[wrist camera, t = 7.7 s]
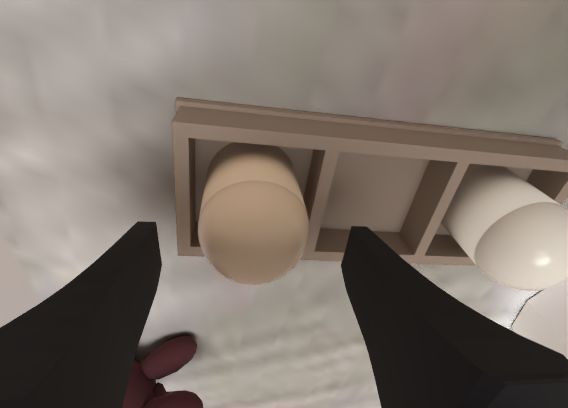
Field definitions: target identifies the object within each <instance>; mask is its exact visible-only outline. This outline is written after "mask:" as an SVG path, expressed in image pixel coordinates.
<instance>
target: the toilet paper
mask: <svg viewBox="0 0 568 408" xmlns="http://www.w3.org/2000/svg"><path fill="white" fill-rule="evenodd" d="M512 329H513V331H514V332H515V333H517V334H519V335H521V336H523V337H525V338H527V339H530V340H532V341H534V342H536V343H539V344H541V345H543V346H545V347H548V348H550V349H552V350H554V351H556V352H559V353H561V354H563V355H564V356H565V357H566V358H567V359H568V280H566V281H565V282H563V283H561V284H559V285H557V286H555V287H552V288H548V289H544V290H543V291H541V292H540V293H538V294H537V295H535V296H534V297H532V298H531V299H529V300H528V301H527V302H526V304H525V305H524V307H523V309H522V310H521V312H520V314H519V315H518V317H517V318H516V320H515V322H514V323H513V325H512Z"/></svg>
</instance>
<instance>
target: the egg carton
mask: <svg viewBox="0 0 568 408" xmlns="http://www.w3.org/2000/svg"><path fill="white" fill-rule="evenodd" d="M175 107H176V115H175V117H174V119H173V120H172V136H173V158H174V180H175V202H176V224H177V246H178V256H204V254H203V252H202V249H201V246H200V243H199V237H198V221H199V215H200V210H201V204H202V199H203V193H204V188H205V182H206V177H207V172H208V167H209V165H210V162H211V160H212V159H213V157H214V156H215V155H216V153H217V152H218V151H219V150H221V149H222V148H223V147H224V146H226V145H228V144H230V143H232V142H239V143H250V144H261V145H272V146H278V147H279V148H281V149H282V150H283V151H284V152H285V153H286V154H287V156H288V157H289V158H290V160H291V162H292V164H293V167H294V170H295V174H296V177H297V180H298V184H299V187H300V190H301V194H302V197H303V201H304V204H305V207H306V211H307V215H308V219H309V238H308V242H307V246H306V249H305V251H304V253H303V255H302V257H301V259H300V260H324V261H342V260H343V256H344V252H345V249H346V245H347V241H348V237H349V234H350V230H351V226H367V227H368V228H369V229H370V230H372V231H373V232H374V233H375V234H376V235H377V236H378V237H379V238H380V239H381V240H383V241H384V242H385V243H386V244H387V245H388V246H389V247H390V248H391V249H392V250H394V251H395V252H396V253H397V254H398V255H399V256H400V257H401V258H403V259H404V260H405V261H406V262H407V263H414V264H444V265H474V266H476V264H475V263H474V262H473V261H472V260H471V258H470V257H469V256H468V255H467V254H466V253H465V251H464V250H463V249H462V248H461V247H460V245H459V244H458V243H457V242H456V241H455V239H454V238H453V237H452V236H451V235H450V234H449V232H448V231H447V230H446V229H445V228H444V226H443V225H442V224H441V221H442V219H443V217H444V215H445V213H446V211H447V209H448V207H449V204H450V202H451V200H452V198H453V196H454V194H455V192H456V190H457V188H458V186H459V184H460V182H461V180H462V178H463V176H464V174H465V172H466V170H467V168H468V166H469V164H482V165H493V166H504V167H506V168H507V169H509V170H510V171H512V172H513V173H515V174H516V175H518V176H519V177H521V178H522V179H524V180H525V181H526V182H528V183H529V184H531V185H532V186H534V187H535V188H537V189H538V190H540V191H541V192H543V193H544V194H546V195H547V196H548V197H550V198H551V199H553V200H554V201H556V202H557V203H559V204H560V205H562V203H563V202H564V200H565V199H566V198H567V196H568V151H567V150H565V149H563V148H561V145H562V144H563V142H561V141H559V140H557V139H552V138H543V137H534V136H525V135H516V134H507V133H497V132H488V131H479V130H470V129H461V128H452V127H443V126H433V125H424V124H415V123H406V122H397V121H388V120H379V119H370V118H360V117H351V116H342V115H333V114H324V113H315V112H306V111H296V110H287V109H278V108H269V107H260V106H251V105H242V104H232V103H223V102H214V101H205V100H196V99H187V98H178V97H177V99H176V100H175Z"/></svg>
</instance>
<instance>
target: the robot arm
mask: <svg viewBox="0 0 568 408" xmlns="http://www.w3.org/2000/svg"><path fill="white" fill-rule="evenodd" d="M161 266H162V262H161V255H160V248H159V241H158V233H157V226H156V222H137V223H136V224H135V225H134V226H133V227H132V228H130V229H129V230H128V231H127V232H126V233H125V234H124V235H123V236H122V237H121V238H120V239H119V240H118V241H117V242H116V243H115V244H114V245H113V246H112V247H111V248H109V249H108V250H107V251H106V252H105V253H104V254H103V255H102V256H101V257H100V258H98V259H97V260H96V261H95V262H94V263H93V264H92V265H90V266H89V267H88V268H87V269H86V270H84V271H83V272H82V273H81V274H80V275H78V276H77V277H76V278H75V279H73V280H72V281H71V282H70V283H68V284H67V285H66V286H64V287H63V288H62V289H60V290H59V291H57V292H56V293H54V294H53V295H52V296H50V297H49V298H47V299H46V300H44V301H43V302H41V303H40V304H38V305H37V306H35V307H34V308H32V309H30V310H29V311H27V312H26V313H24V314H22V315H21V316H19V317H17V318H16V319H14V320H13V321H11V322H9V323H8V324H6V325H4V326H3V327H1V328H0V408H123V403H124V399H125V394H126V389H127V385H128V381H129V377H130V372H131V368H132V364H133V360H134V357H135V353H136V350H137V347H138V344H139V341H140V338H141V335H142V332H143V329H144V326H145V323H146V320H147V318H148V315H149V312H150V309H151V306H152V303H153V300H154V297H155V294H156V291H157V286H158V282H159V277H160V272H161ZM341 268H342V273H343V278H344V282H345V287H346V290H347V293H348V296H349V299H350V302H351V304H352V307H353V310H354V313H355V315H356V318H357V321H358V324H359V326H360V329H361V332H362V335H363V337H364V340H365V343H366V346H367V350H368V353H369V357H370V361H371V365H372V369H373V373H374V377H375V381H376V385H377V390H378V394H379V398H380V403H381V407H382V408H568V359H567V358H566V357H565V356H564V355H563V354H561V353H559V352H556V351H554V350H552V349H550V348H548V347H545V346H543V345H541V344H539V343H536V342H534V341H532V340H530V339H527V338H525V337H523V336H521V335H519V334H517V333H515V332H513V331H511V330H509V329H507V328H505V327H503V326H501V325H499V324H497V323H496V322H494V321H492V320H490V319H488V318H486V317H485V316H483V315H481V314H480V313H478V312H476V311H475V310H473V309H471V308H469V307H468V306H466V305H464V304H463V303H461V302H460V301H458V300H457V299H455V298H454V297H452V296H451V295H449V294H448V293H446V292H445V291H443V290H442V289H440V288H439V287H438V286H436V285H435V284H433V283H432V282H431V281H429V280H428V279H427V278H426V277H424V276H423V275H422V274H421V273H419V272H418V271H417V270H416V269H414V268H413V267H412V266H411V265H410V264H408V263H407V262H406V261H405V260H404V259H403V258H401V257H400V256H399V255H398V254H397V253H396V252H395V251H394V250H392V249H391V248H390V247H389V246H388V245H387V244H386V243H385V242H384V241H383V240H381V239H380V238H379V237H378V236H377V235H376V234H375V233H374V232H373V231H372V230H370V229H369V228H368V227H367V226H351V230H350V234H349V237H348V241H347V245H346V249H345V252H344V256H343V260H342V264H341Z"/></svg>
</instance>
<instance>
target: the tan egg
mask: <svg viewBox="0 0 568 408" xmlns="http://www.w3.org/2000/svg"><path fill="white" fill-rule="evenodd" d="M198 237H199V243H200V246H201V249H202V252H203V254H204V256H205V258H206V259H207V261H208V262H209V263H210V265H211V266H212V267H213V268H214V269H215V270H216V271H217V272H218V273H220V274H221V275H222V276H224V277H226V278H228V279H230V280H232V281H234V282H237V283H241V284H248V285H259V284H265V283H269V282H272V281H275V280H277V279H279V278H281V277H282V276H284V275H285V274H287V273H288V272H289V271H291V270H292V269H293V268H294V267H295V265H296V264H297V263H298V262H299V260H300V259H301V257H302V255H303V253H304V251H305V249H306V246H307V242H308V238H309V219H308V215H307V211H306V207H305V204H304V201H303V197H302V194H301V190H300V187H299V184H298V180H297V177H296V174H295V170H294V167H293V164H292V162H291V160H290V158H289V157H288V156H287V154H286V153H285V152H284V151H283V150H282V149H281V148H279V147H278V146H272V145H261V144H250V143H239V142H232V143H230V144H228V145H226V146H224V147H223V148H222V149H221V150H219V151H218V152H217V153H216V155H215V156H214V157H213V159H212V160H211V162H210V165H209V167H208V172H207V177H206V182H205V188H204V193H203V199H202V204H201V210H200V215H199V221H198Z"/></svg>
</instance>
